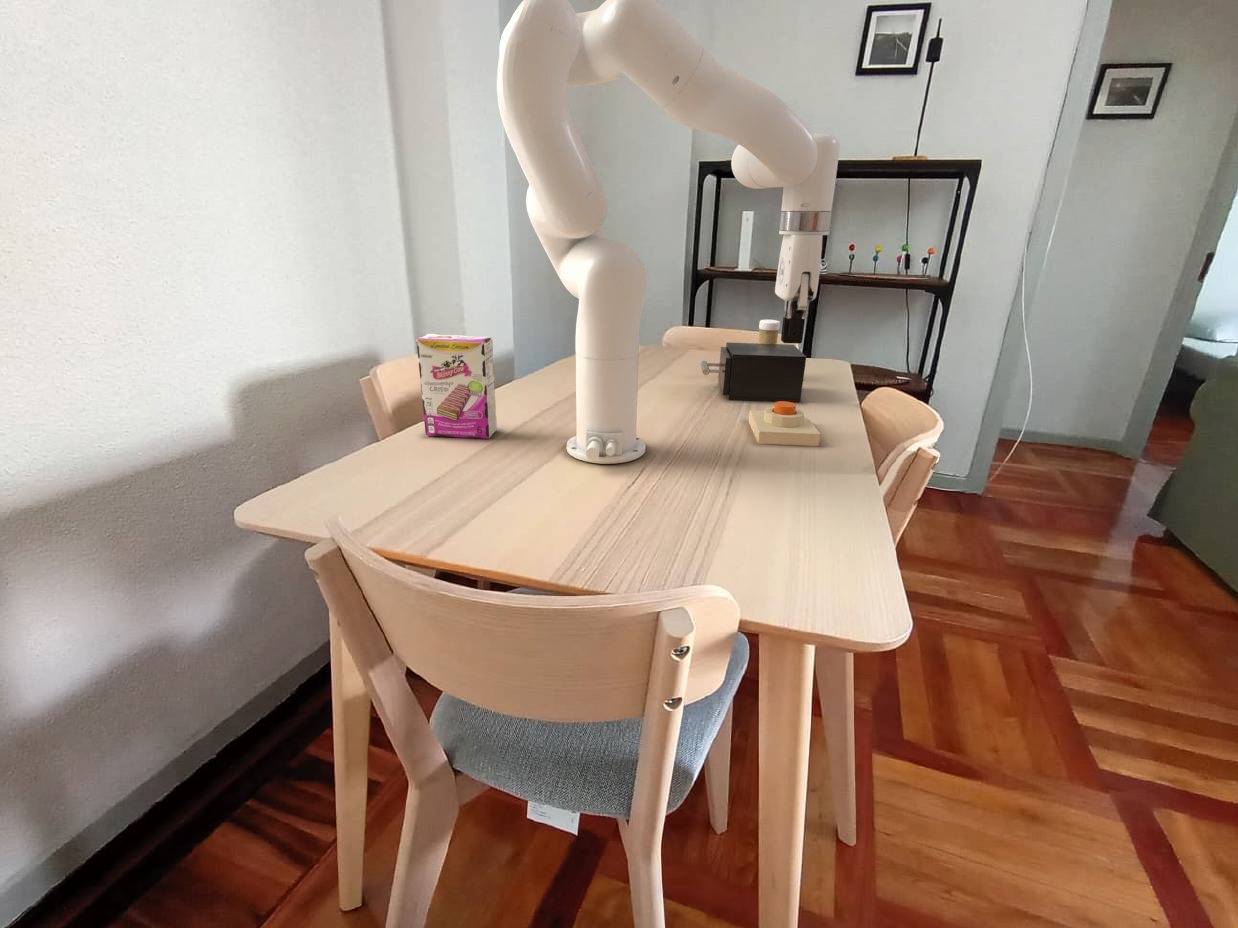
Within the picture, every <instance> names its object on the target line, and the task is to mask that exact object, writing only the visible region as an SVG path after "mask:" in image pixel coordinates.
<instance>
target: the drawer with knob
mask: <svg viewBox="0 0 1238 928" xmlns="http://www.w3.org/2000/svg"><path fill="white" fill-rule="evenodd" d="M731 363H732V358H731V356H730V354H729V352H728V350H727V348H726V346H721V347H720V354H719V363H718V362H708V361H706V360H702V361H701V362H700V368H701V371H702V374H703V375H705V376H708V375H709V374H718V378H717V382H718V386H719V388H720V391H721V394H722V396H727V395H729V385H730V374H731ZM710 367H718V369H711V368H710Z"/></svg>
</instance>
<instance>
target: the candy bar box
mask: <svg viewBox="0 0 1238 928" xmlns="http://www.w3.org/2000/svg"><path fill="white" fill-rule="evenodd" d="M415 340H416V349H417V350H416V351H417V352H416V353H417V360H418V370H419V380H420V381H419V382H420V390H421V391H420V393H421V400H422V412H423V420H424V421H423V422H424V431H425V436H430V437H446V438H447V437H449V438H465V439H466V438H468V439H482V440H483V439H484V440H489V439H490V438H492V436H493V435H494V434H495V433H496V432H497V430H498V424H497V422H498V421H497V406H496V387H495V369H494V368H495V367H494V348H493V337H492V336H485V335H484V336H482V335H479V336H478V335H463V334H462V335H461V334H441V333H425V334H424V335H422V336H418V338H416V339H415Z"/></svg>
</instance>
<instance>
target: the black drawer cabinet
mask: <svg viewBox="0 0 1238 928" xmlns="http://www.w3.org/2000/svg"><path fill="white" fill-rule="evenodd" d="M725 347H726V348H727V350H728V352H729V354H730V356H731V358H732V363H731V374H730V385H729V395H726V397H727V400H728V401H734V402H735V401H737V402H760V403H761V402H762V403H764V402H765V403H775V402H779V401H787V402H792V403H794V404H800V403H801V398H802V391H803V385H804V377H805V371H806V370H805V369H806V363H807V356H806V355H805V354H804V353H803V352H802V351H801V350H800V349H799V348H798V347H797V346H796V345H795V344H790V343H777V344H758V342H756V343H755V342H754V343H753V342H726V344H725Z"/></svg>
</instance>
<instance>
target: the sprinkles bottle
mask: <svg viewBox="0 0 1238 928" xmlns="http://www.w3.org/2000/svg"><path fill="white" fill-rule="evenodd" d="M780 327H781V321H780V320H776V319H760V320H759V325H758V330H759V333H758V339H757V340H758V341H757V343H758V344H778V337H779V330H780V329H781V328H780Z"/></svg>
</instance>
